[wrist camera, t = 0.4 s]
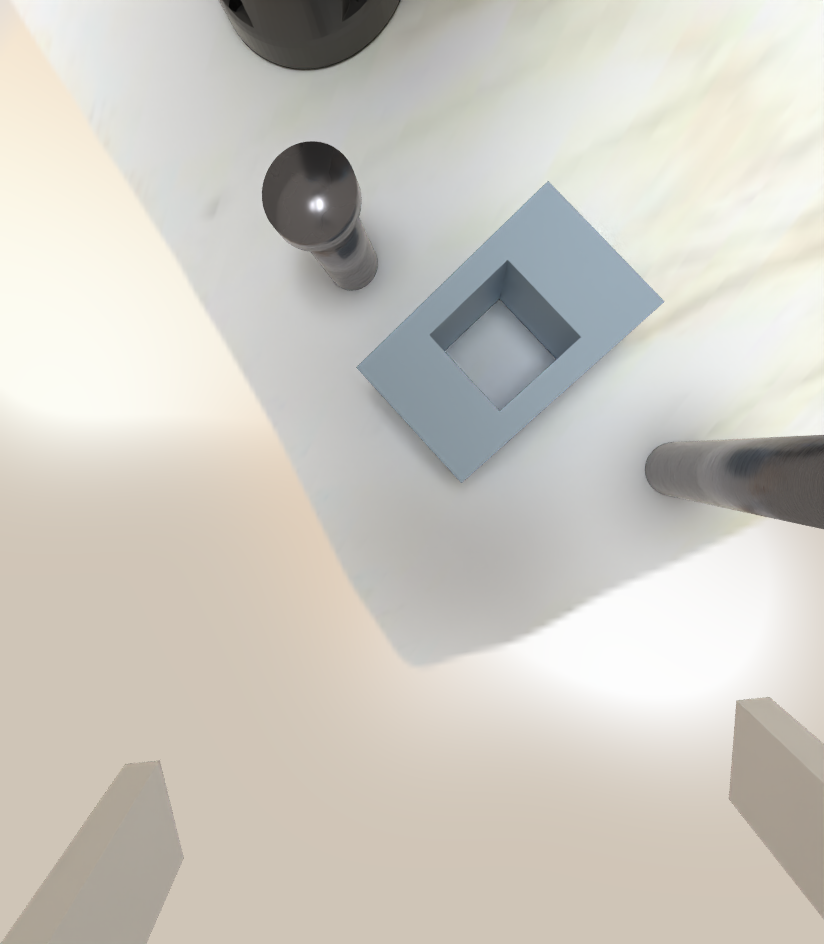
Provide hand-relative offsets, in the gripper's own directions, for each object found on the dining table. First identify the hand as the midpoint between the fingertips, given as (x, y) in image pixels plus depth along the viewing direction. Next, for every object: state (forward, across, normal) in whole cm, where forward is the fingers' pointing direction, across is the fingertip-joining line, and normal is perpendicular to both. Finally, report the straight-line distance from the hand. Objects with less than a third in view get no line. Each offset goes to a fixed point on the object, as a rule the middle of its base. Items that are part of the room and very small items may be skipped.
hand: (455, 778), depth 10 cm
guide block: (+27, +7, +10) cm, 29 cm away
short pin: (+30, -3, +18) cm, 35 cm away
